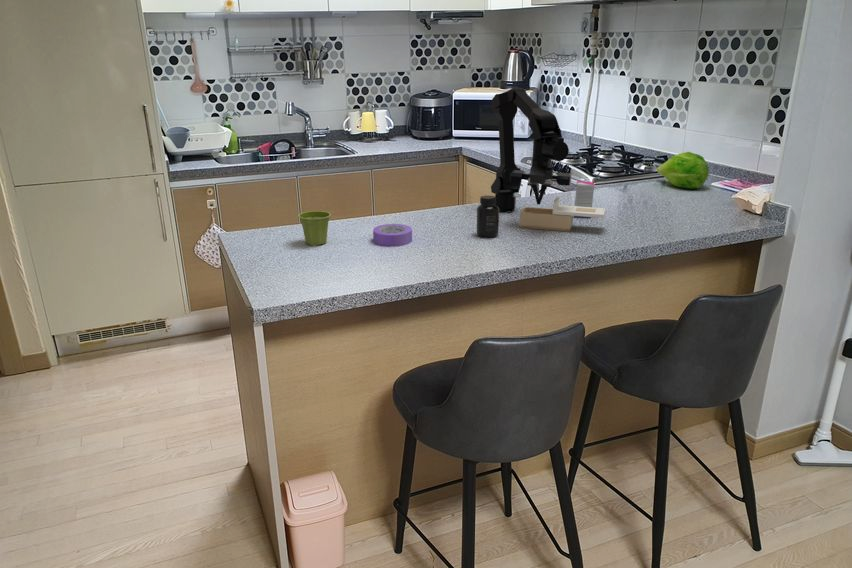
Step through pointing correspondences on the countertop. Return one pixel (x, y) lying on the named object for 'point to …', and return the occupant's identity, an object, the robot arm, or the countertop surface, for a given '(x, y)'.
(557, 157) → the robot arm
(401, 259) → the countertop surface
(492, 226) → the supplement bottle
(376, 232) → the masking tape
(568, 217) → the base
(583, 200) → the supplement box
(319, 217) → the plant pot
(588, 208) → the lid
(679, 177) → the lettuce
